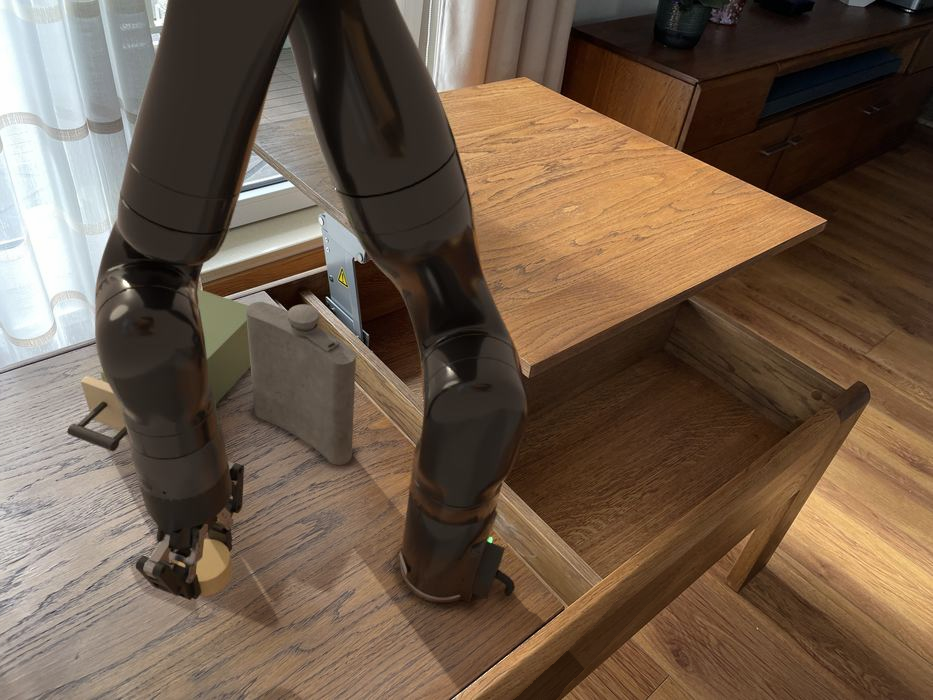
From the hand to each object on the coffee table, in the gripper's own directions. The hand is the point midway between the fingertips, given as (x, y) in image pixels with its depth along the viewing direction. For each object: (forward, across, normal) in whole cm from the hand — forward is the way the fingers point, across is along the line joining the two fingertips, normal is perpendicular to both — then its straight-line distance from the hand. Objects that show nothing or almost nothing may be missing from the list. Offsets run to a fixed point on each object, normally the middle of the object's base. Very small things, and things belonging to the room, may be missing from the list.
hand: (206, 570), depth 73 cm
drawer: (+3, +18, +21) cm, 28 cm away
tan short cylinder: (+1, 0, 0) cm, 1 cm away
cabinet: (+4, +29, +21) cm, 37 cm away
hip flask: (+5, +25, +2) cm, 26 cm away
